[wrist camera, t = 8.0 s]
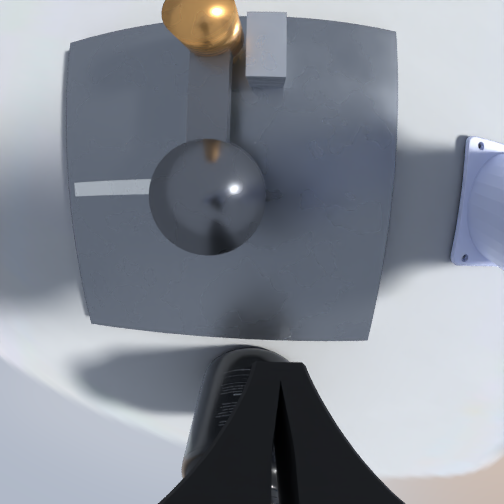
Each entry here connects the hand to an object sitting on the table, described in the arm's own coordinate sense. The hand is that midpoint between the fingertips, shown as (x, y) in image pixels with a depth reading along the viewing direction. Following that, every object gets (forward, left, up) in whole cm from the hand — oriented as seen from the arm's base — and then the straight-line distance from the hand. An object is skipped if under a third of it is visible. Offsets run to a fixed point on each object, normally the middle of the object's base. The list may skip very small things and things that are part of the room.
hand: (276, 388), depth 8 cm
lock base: (+3, -4, -10) cm, 12 cm away
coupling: (+3, -7, -7) cm, 11 cm away
